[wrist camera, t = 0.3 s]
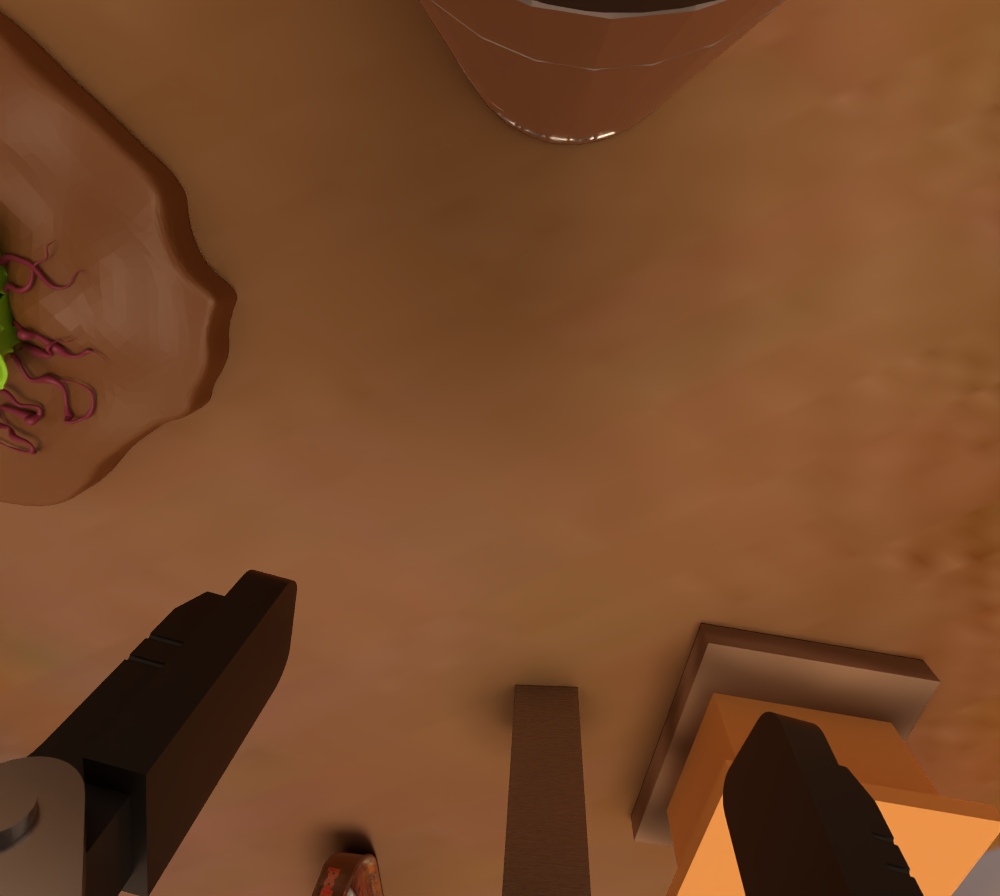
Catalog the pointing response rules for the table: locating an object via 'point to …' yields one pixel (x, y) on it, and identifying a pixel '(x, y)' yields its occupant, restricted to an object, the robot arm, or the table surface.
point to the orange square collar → (856, 745)
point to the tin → (349, 876)
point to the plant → (91, 286)
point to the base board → (774, 698)
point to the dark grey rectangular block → (546, 797)
